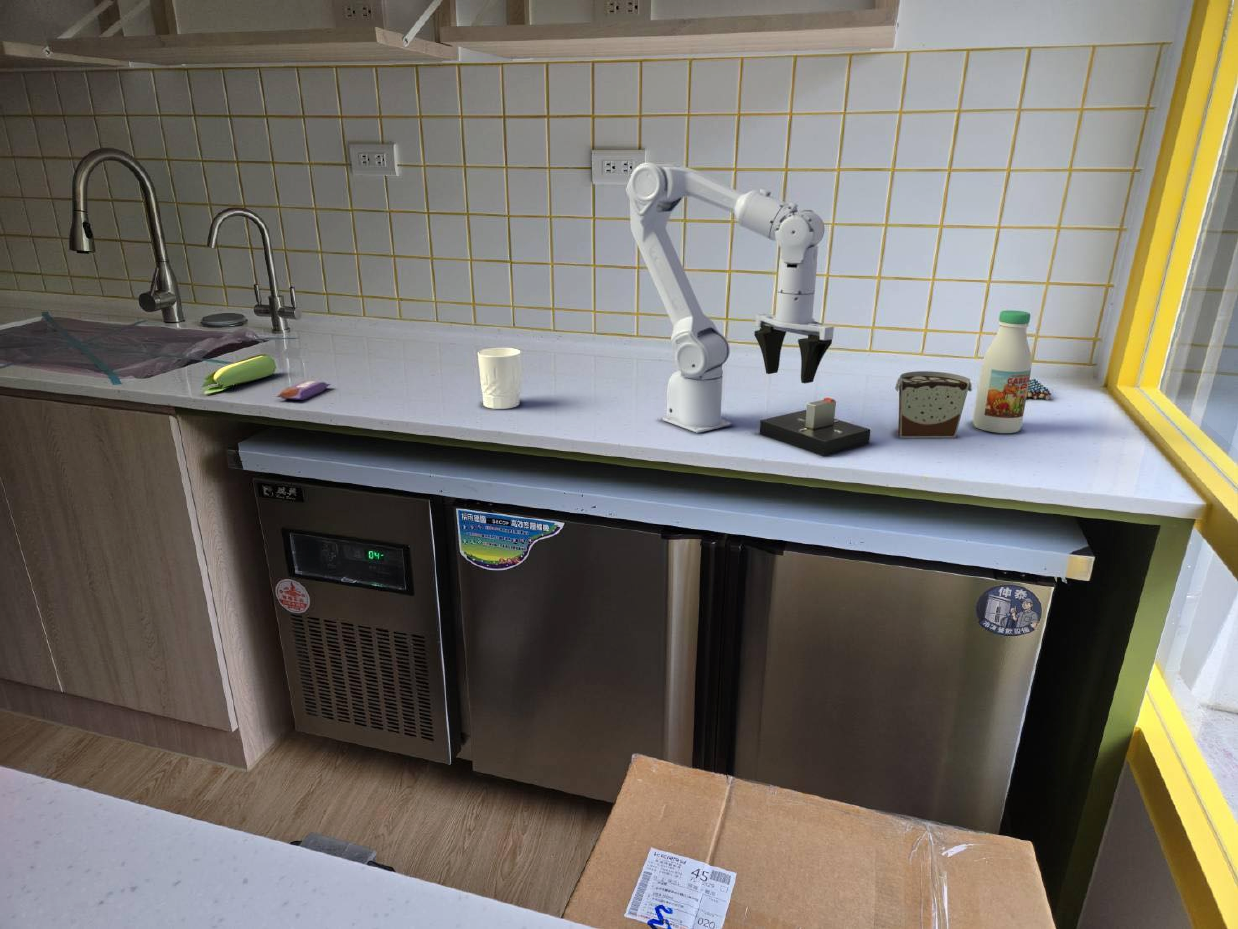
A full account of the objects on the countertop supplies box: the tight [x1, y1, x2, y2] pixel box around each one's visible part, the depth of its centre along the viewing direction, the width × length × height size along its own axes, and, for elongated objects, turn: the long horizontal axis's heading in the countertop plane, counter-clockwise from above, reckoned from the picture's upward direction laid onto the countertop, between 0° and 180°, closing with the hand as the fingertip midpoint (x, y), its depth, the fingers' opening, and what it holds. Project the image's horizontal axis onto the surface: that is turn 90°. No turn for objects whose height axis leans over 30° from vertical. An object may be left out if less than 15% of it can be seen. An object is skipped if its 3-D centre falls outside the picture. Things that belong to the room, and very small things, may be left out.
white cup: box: [477, 347, 522, 410], centre depth 152 cm, size 8×8×10 cm
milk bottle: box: [972, 309, 1033, 434], centre depth 139 cm, size 8×8×20 cm
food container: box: [894, 370, 973, 439], centre depth 138 cm, size 12×6×10 cm, turn 92°
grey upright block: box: [805, 397, 837, 429], centre depth 133 cm, size 5×2×4 cm, turn 126°
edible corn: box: [201, 353, 277, 395], centre depth 166 cm, size 5×20×5 cm, turn 163°
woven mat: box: [1026, 378, 1052, 401], centre depth 164 cm, size 10×11×2 cm
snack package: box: [275, 380, 332, 401], centre depth 159 cm, size 12×2×5 cm
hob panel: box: [759, 409, 872, 457], centre depth 135 cm, size 14×11×3 cm
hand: (789, 377), depth 132 cm, fingers open, 7 cm apart
